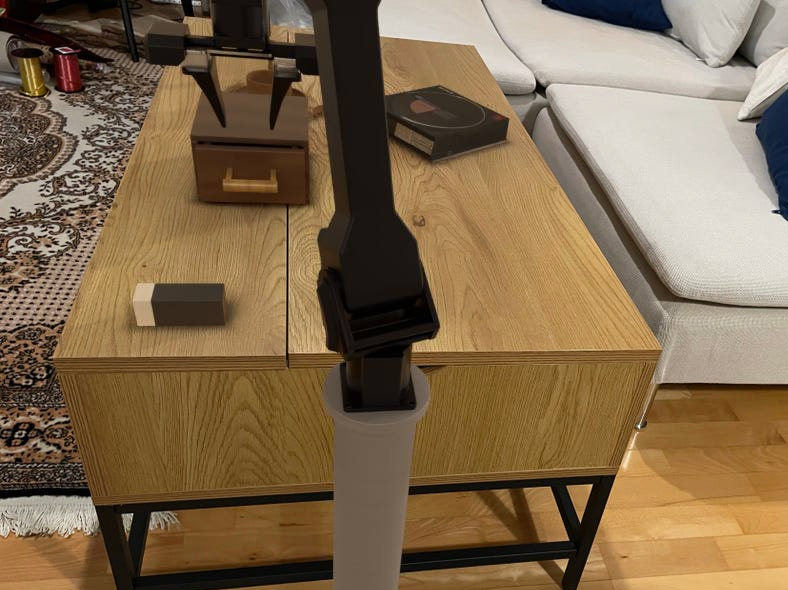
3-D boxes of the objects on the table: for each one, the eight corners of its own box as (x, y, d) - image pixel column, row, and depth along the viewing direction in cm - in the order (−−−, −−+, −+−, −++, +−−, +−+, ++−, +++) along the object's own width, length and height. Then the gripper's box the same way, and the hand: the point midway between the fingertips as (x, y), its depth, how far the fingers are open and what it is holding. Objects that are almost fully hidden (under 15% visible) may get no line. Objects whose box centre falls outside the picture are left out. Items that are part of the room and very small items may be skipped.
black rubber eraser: (225, 325, 70) (222, 300, 68) (137, 326, 68) (132, 300, 66) (227, 307, 72) (224, 283, 70) (142, 308, 70) (137, 283, 68)
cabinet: (310, 204, 91) (309, 140, 86) (198, 201, 88) (189, 134, 82) (307, 156, 102) (306, 96, 96) (208, 152, 98) (201, 90, 93)
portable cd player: (360, 124, 113) (361, 100, 111) (437, 107, 124) (440, 84, 121) (429, 163, 105) (432, 138, 103) (505, 142, 116) (509, 118, 113)
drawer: (306, 222, 85) (305, 170, 81) (197, 220, 82) (190, 166, 78) (303, 158, 99) (302, 110, 95) (210, 154, 96) (204, 105, 92)
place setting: (199, 105, 110) (194, 66, 107) (265, 72, 126) (263, 37, 122) (301, 131, 108) (299, 93, 104) (355, 94, 123) (356, 59, 120)
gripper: (328, -33, 79) (328, 106, 88) (148, -52, 74) (169, 97, 84) (333, -7, 70) (332, 142, 80) (130, -27, 66) (156, 134, 76)
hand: (248, 127), depth 80 cm, fingers open, 5 cm apart
